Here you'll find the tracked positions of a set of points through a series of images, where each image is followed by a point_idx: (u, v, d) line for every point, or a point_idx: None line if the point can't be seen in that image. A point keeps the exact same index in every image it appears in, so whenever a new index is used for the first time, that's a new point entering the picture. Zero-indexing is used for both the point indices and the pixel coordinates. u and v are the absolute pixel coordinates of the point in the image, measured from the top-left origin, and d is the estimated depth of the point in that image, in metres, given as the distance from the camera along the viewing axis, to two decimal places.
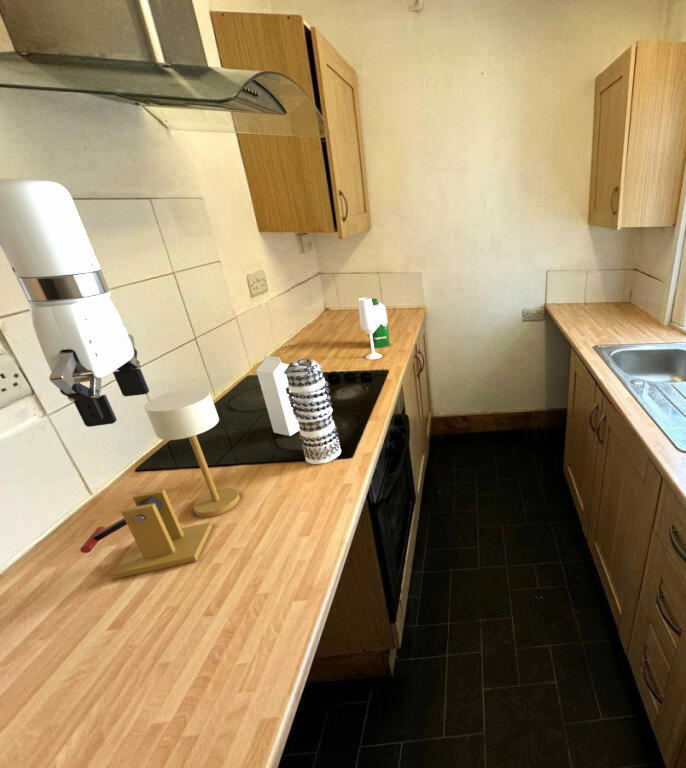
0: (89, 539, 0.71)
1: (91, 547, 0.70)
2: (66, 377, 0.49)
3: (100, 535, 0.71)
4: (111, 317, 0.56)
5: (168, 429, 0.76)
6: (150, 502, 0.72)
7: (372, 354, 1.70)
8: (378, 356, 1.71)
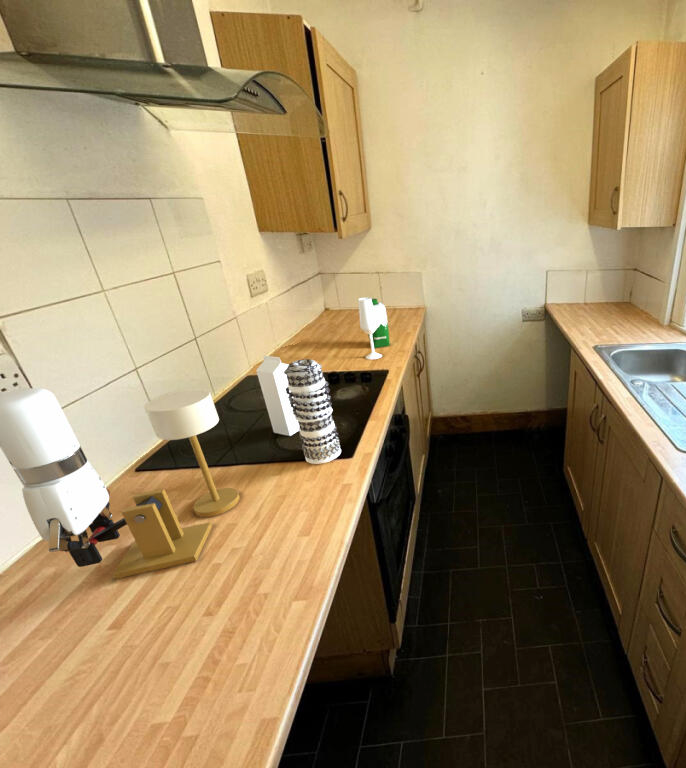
0: (89, 539, 0.71)
1: None
2: (61, 545, 0.64)
3: (100, 535, 0.71)
4: (89, 479, 0.69)
5: (168, 429, 0.76)
6: (150, 502, 0.72)
7: (372, 354, 1.70)
8: (378, 356, 1.71)
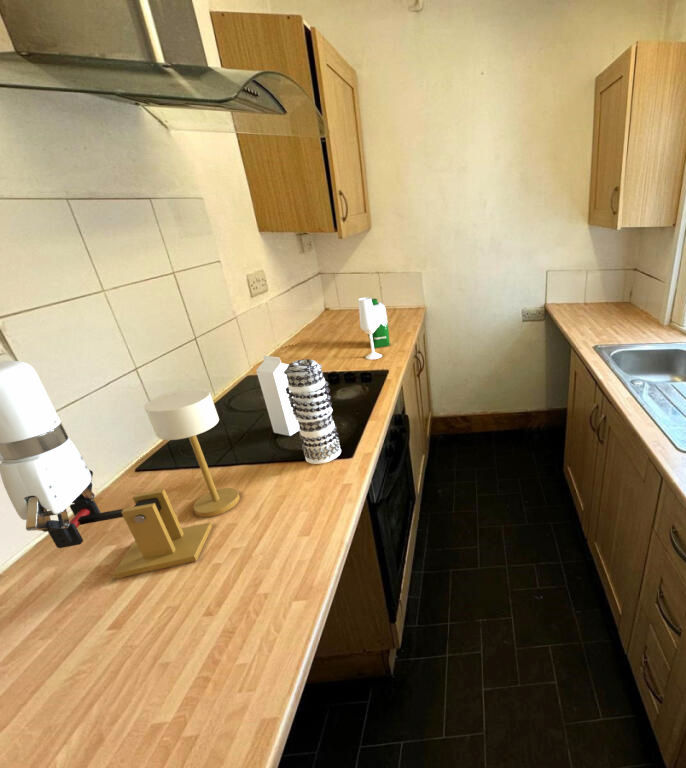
0: (74, 521, 0.69)
1: None
2: (39, 524, 0.62)
3: (86, 520, 0.70)
4: (70, 457, 0.67)
5: (168, 429, 0.76)
6: None
7: (372, 354, 1.70)
8: (378, 356, 1.71)
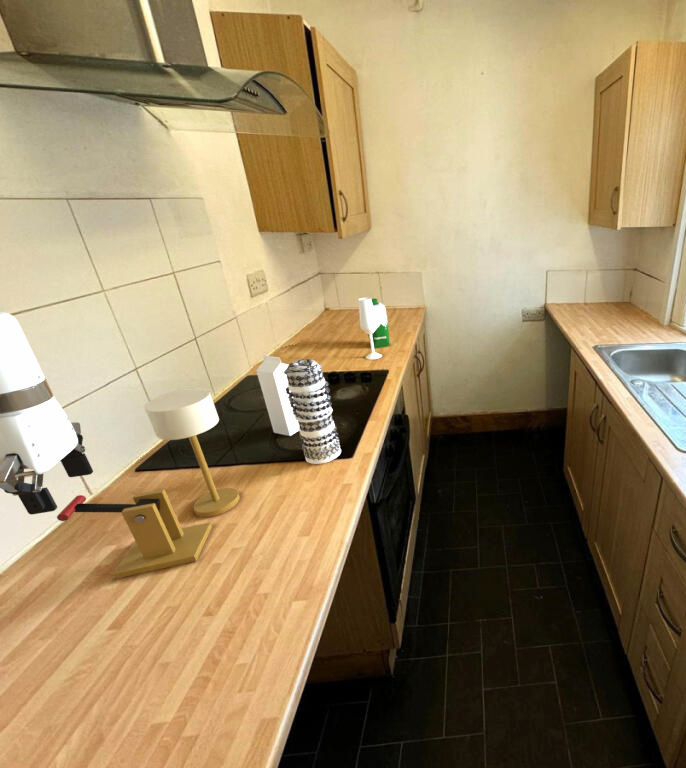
0: (71, 507, 0.68)
1: (69, 517, 0.67)
2: (9, 479, 0.58)
3: (83, 509, 0.69)
4: (55, 417, 0.65)
5: (168, 429, 0.76)
6: (156, 506, 0.73)
7: (372, 354, 1.70)
8: (378, 356, 1.71)
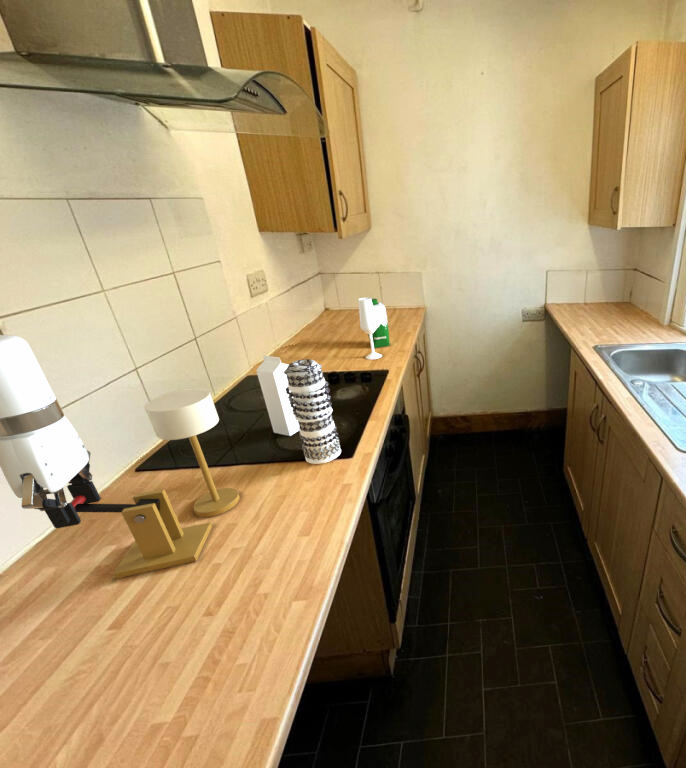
0: None
1: None
2: (35, 502, 0.61)
3: (83, 509, 0.69)
4: (66, 435, 0.66)
5: (168, 429, 0.76)
6: (156, 506, 0.73)
7: (372, 354, 1.70)
8: (378, 356, 1.71)
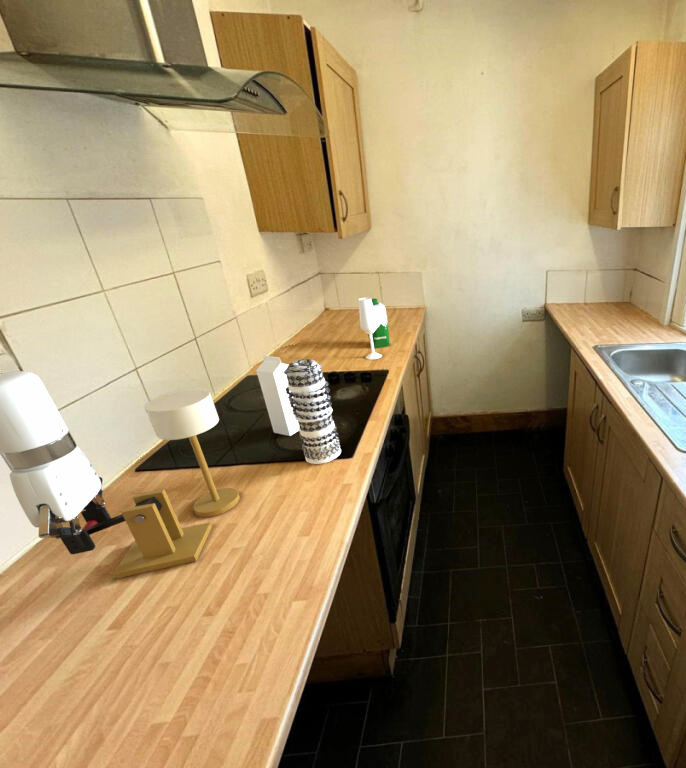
0: None
1: None
2: (52, 531, 0.63)
3: (93, 529, 0.71)
4: (79, 464, 0.68)
5: (168, 429, 0.76)
6: (152, 503, 0.72)
7: (372, 354, 1.70)
8: (378, 356, 1.71)
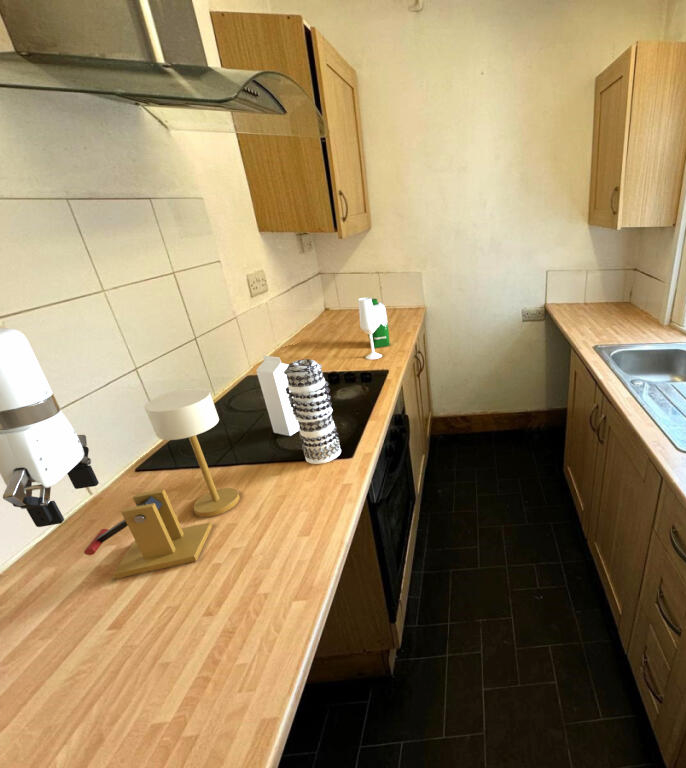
0: (92, 541, 0.71)
1: (95, 549, 0.70)
2: (18, 494, 0.59)
3: (103, 537, 0.72)
4: (62, 430, 0.66)
5: (168, 429, 0.76)
6: (149, 502, 0.72)
7: (372, 354, 1.70)
8: (378, 356, 1.71)
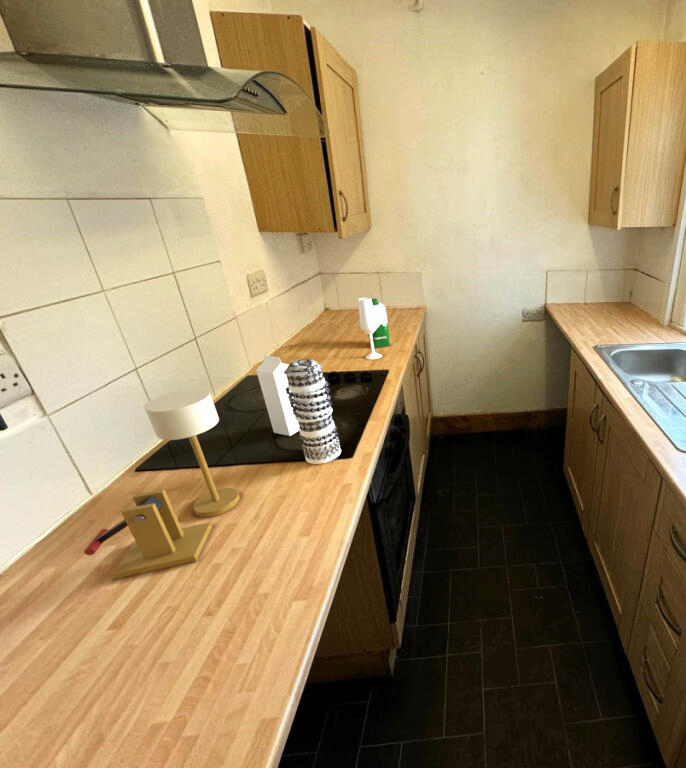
0: (92, 541, 0.71)
1: (95, 549, 0.70)
2: None
3: (103, 537, 0.72)
4: None
5: (168, 429, 0.76)
6: (149, 502, 0.72)
7: (372, 354, 1.70)
8: (378, 356, 1.71)
